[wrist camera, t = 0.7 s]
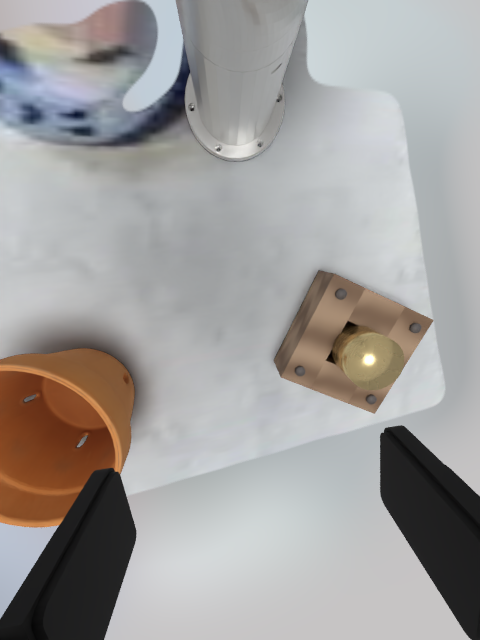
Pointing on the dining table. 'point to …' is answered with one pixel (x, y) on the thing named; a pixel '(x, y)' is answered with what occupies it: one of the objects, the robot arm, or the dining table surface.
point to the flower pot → (59, 430)
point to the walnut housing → (327, 324)
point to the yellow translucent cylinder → (367, 357)
